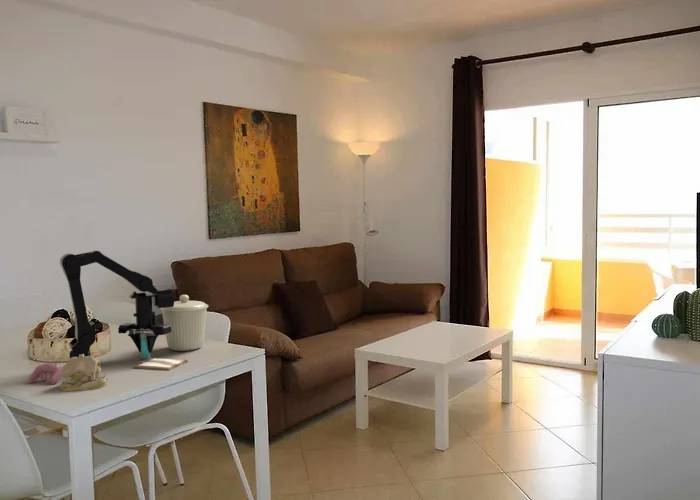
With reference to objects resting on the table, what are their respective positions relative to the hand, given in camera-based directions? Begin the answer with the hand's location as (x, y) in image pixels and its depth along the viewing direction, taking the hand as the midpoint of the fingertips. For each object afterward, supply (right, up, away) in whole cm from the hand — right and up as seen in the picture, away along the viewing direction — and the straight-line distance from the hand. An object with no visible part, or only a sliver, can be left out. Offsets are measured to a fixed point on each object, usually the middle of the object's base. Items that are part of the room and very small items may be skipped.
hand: (145, 352), depth 221 cm
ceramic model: (-8, -5, -32) cm, 34 cm away
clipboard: (+8, -3, -8) cm, 12 cm away
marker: (0, -3, 0) cm, 2 cm away
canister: (+10, -2, +17) cm, 20 cm away
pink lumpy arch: (-22, -5, -27) cm, 35 cm away
